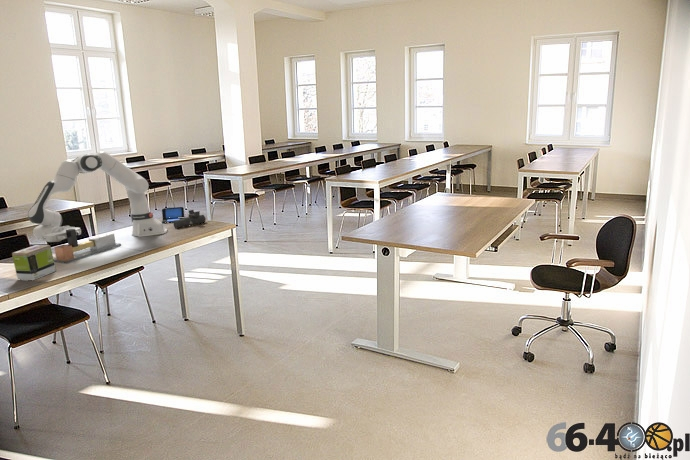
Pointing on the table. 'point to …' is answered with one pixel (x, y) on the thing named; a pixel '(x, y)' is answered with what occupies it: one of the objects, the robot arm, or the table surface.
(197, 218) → the laser sight
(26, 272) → the tea box
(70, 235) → the hammer
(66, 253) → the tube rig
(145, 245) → the table surface
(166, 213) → the handheld game console
